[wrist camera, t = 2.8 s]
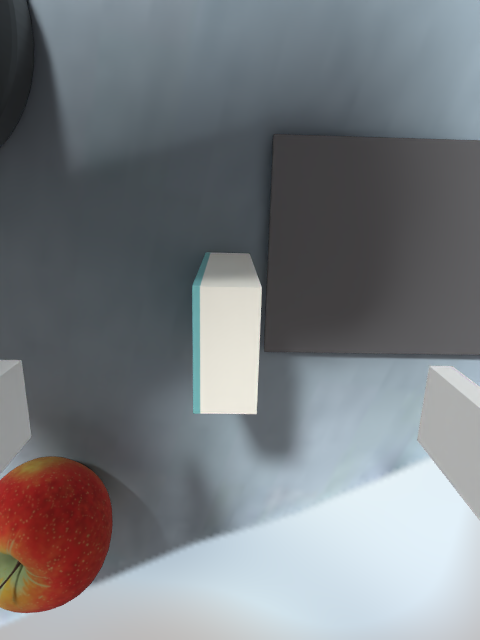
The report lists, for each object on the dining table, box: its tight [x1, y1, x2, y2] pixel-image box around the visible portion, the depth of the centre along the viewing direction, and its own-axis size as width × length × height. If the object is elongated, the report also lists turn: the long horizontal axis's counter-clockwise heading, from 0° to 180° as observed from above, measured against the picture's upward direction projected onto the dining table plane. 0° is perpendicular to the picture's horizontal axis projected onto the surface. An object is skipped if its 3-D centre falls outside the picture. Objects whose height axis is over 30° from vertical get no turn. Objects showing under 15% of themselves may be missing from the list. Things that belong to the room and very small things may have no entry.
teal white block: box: [192, 252, 262, 414], centre depth 22 cm, size 3×6×10 cm, turn 179°
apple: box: [0, 457, 112, 613], centre depth 25 cm, size 8×8×10 cm
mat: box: [264, 134, 480, 355], centre depth 26 cm, size 17×13×1 cm
